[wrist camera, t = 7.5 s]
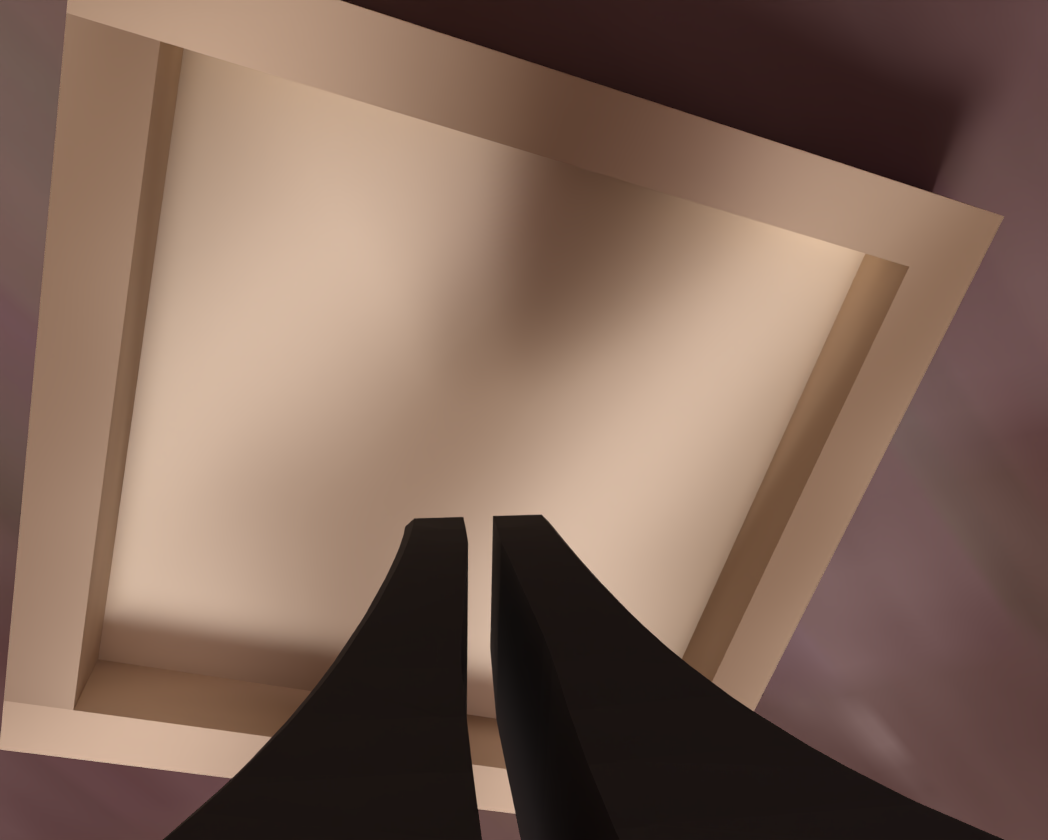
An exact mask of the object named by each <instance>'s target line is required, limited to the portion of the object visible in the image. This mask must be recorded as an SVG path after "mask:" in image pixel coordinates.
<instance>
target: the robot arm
mask: <svg viewBox="0 0 1048 840" xmlns="http://www.w3.org/2000/svg"><path fill="white" fill-rule="evenodd" d="M467 646H468V538H467V532H466V527H465V522H464V518H463V517H443V518H414V519H413V520H412V521H411V522H410V523H409V524H408V525H406V526H405V529H404V535H403V538H402V541H401V544H400V547H399V549H398V552H397V554H396V556H395V559H394V561H393V563H392V565H391V567H390V569H389V571H388V574H387V576H386V578H385V580H384V581H383V583H382V585H381V587H380V589H379V590H378V592H377V594H376V596H375V598H374V600H373V601H372V603H371V605H370V607H369V609H368V610H367V612H366V614H365V615H364V617H363V619H362V620H361V622H360V623H359V625H358V626H357V628H356V629H355V631H354V632H353V634H352V635H351V637H350V638H349V640H348V641H347V643H346V644H345V646H344V647H343V649H342V650H341V652H340V653H339V655H338V656H337V658H336V659H335V661H334V662H333V664H332V665H331V666H330V668H329V669H328V670H327V672H326V673H325V674H324V676H323V677H322V678H321V680H320V681H319V682H318V684H317V685H316V686H315V688H314V689H313V690H312V691H311V693H310V694H309V695H308V696H307V697H306V699H305V700H304V701H303V702H302V703H301V705H300V706H299V707H298V708H297V709H296V711H295V712H294V713H293V714H292V715H291V717H290V718H289V719H288V720H287V721H286V722H285V724H284V725H283V726H282V727H281V728H280V729H279V730H278V731H277V732H276V733H275V734H274V735H273V736H272V737H271V738H270V740H269V741H268V742H267V743H266V744H265V745H264V746H263V747H262V748H261V749H260V750H259V751H258V752H257V753H256V755H255V756H254V757H253V758H252V759H251V760H250V761H249V762H248V763H247V764H246V765H245V766H244V767H243V768H242V769H241V770H240V771H239V772H238V773H237V774H236V775H235V776H234V777H233V778H232V779H231V780H230V781H229V782H228V783H227V784H225V785H224V786H223V787H222V788H221V789H220V790H219V791H218V792H217V793H216V794H214V795H213V796H212V797H211V798H210V799H209V800H208V801H207V802H205V803H204V804H203V805H202V806H201V807H200V808H199V809H197V810H196V811H195V812H194V813H193V814H192V815H191V816H189V817H188V818H187V819H186V820H185V821H184V822H183V823H181V824H180V825H179V826H178V827H177V828H176V829H175V830H173V831H172V832H171V833H170V834H169V835H168V836H167V837H166V838H164V839H163V840H482V837H481V829H480V822H479V814H478V806H477V799H476V791H475V783H474V776H473V768H472V759H471V750H470V742H469V733H468V724H467ZM490 653H491V665H492V676H493V688H494V699H495V710H496V720H497V725H498V731H499V736H500V741H501V745H502V750H503V755H504V760H505V765H506V770H507V775H508V780H509V784H510V789H511V794H512V799H513V804H514V808H515V813H516V818H517V823H518V828H519V832H520V837H521V840H1003V839H1001V838H999V837H996V836H994V835H992V834H989V833H987V832H985V831H982V830H980V829H978V828H975V827H973V826H971V825H968V824H966V823H964V822H961V821H959V820H957V819H955V818H952V817H950V816H948V815H945V814H943V813H941V812H938V811H936V810H934V809H931V808H929V807H927V806H924V805H922V804H920V803H918V802H915V801H913V800H911V799H909V798H907V797H905V796H903V795H901V794H899V793H897V792H895V791H893V790H891V789H889V788H887V787H885V786H883V785H881V784H879V783H877V782H875V781H873V780H871V779H870V778H868V777H866V776H864V775H862V774H860V773H858V772H856V771H854V770H852V769H850V768H848V767H846V766H844V765H842V764H841V763H839V762H837V761H835V760H833V759H832V758H830V757H828V756H826V755H824V754H823V753H821V752H819V751H817V750H815V749H814V748H812V747H810V746H808V745H807V744H805V743H803V742H802V741H800V740H799V739H797V738H795V737H794V736H792V735H791V734H789V733H787V732H786V731H784V730H782V729H781V728H779V727H778V726H776V725H774V724H773V723H771V722H770V721H768V720H766V719H765V718H763V717H761V716H760V715H758V714H757V713H755V712H754V711H752V710H751V709H749V708H748V707H746V706H745V705H743V704H742V703H740V702H739V701H737V700H736V699H734V698H733V697H732V696H730V695H729V694H727V693H726V692H725V691H723V690H722V689H721V688H719V687H718V686H717V685H715V684H714V683H713V682H711V681H710V680H709V679H707V678H706V677H705V676H703V675H702V674H701V673H699V672H698V671H697V670H695V669H694V668H693V667H691V666H690V665H689V664H687V663H686V662H685V661H684V660H682V659H681V658H680V657H679V656H678V655H676V654H675V653H674V652H673V651H671V650H670V649H669V648H668V647H667V646H666V645H665V644H663V643H662V642H661V641H660V640H659V639H658V638H657V637H656V636H655V635H653V634H652V633H651V632H650V631H649V630H648V629H647V628H646V627H645V626H643V625H642V624H641V623H640V622H639V621H638V620H637V619H636V618H635V617H634V616H633V615H632V614H631V613H630V612H629V611H628V610H627V609H626V608H625V607H624V606H623V605H622V604H621V603H620V602H619V601H618V600H617V599H616V598H615V597H614V595H613V594H612V593H611V592H610V591H609V590H608V589H607V588H606V587H605V586H604V585H603V584H602V583H601V582H600V581H599V580H598V579H597V578H596V576H595V575H594V574H593V573H592V572H591V571H590V570H589V569H588V568H587V566H586V565H585V564H584V563H583V562H582V561H581V560H580V558H579V557H578V556H577V555H576V554H575V553H574V551H573V550H572V549H571V548H570V547H569V546H568V544H567V543H566V542H565V541H564V540H563V538H562V537H561V536H560V535H559V533H558V532H557V531H556V530H555V529H554V527H553V526H552V525H551V524H550V522H549V521H548V520H547V519H546V518H545V517H544V516H543V515H542V514H540V515H507V516H493V536H492V584H491V632H490Z"/></svg>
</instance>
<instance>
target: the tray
mask: <svg viewBox="0 0 1048 840" xmlns="http://www.w3.org/2000/svg"><path fill="white" fill-rule="evenodd" d="M1003 218H1004V216H1001V215H998V214H995V213H992V212H989V211H986V210H983V209H980V208H977V207H974V206H971V205H968V204H965V203H962V202H959V201H956V200H953V199H950V198H947V197H944V196H941V195H938V194H935V193H932V192H929V191H926V190H923V189H920V188H917V187H913V186H910V185H907V184H904V183H901V182H898V181H895V180H892V179H889V178H886V177H883V176H880V175H877V174H874V173H870V172H867V171H864V170H861V169H858V168H855V167H852V166H849V165H846V164H843V163H840V162H837V161H834V160H831V159H827V158H824V157H821V156H818V155H815V154H812V153H809V152H806V151H803V150H800V149H797V148H794V147H791V146H787V145H784V144H781V143H778V142H775V141H772V140H769V139H766V138H763V137H760V136H757V135H754V134H751V133H748V132H744V131H741V130H738V129H735V128H732V127H729V126H726V125H723V124H720V123H717V122H714V121H711V120H708V119H705V118H701V117H698V116H695V115H692V114H689V113H686V112H683V111H680V110H677V109H674V108H671V107H668V106H665V105H662V104H658V103H655V102H652V101H649V100H646V99H643V98H640V97H637V96H634V95H631V94H628V93H625V92H622V91H619V90H615V89H612V88H609V87H606V86H603V85H600V84H597V83H594V82H591V81H588V80H585V79H582V78H579V77H576V76H572V75H569V74H566V73H563V72H560V71H557V70H554V69H551V68H548V67H545V66H542V65H539V64H536V63H532V62H529V61H526V60H523V59H520V58H517V57H514V56H511V55H508V54H505V53H502V52H499V51H496V50H493V49H489V48H486V47H483V46H480V45H477V44H474V43H471V42H468V41H465V40H462V39H459V38H456V37H453V36H450V35H446V34H443V33H440V32H437V31H434V30H431V29H428V28H425V27H422V26H419V25H416V24H413V23H410V22H407V21H403V20H400V19H397V18H394V17H391V16H388V15H385V14H382V13H379V12H376V11H373V10H370V9H367V8H364V7H360V6H357V5H354V4H351V3H348V2H345V1H342V0H68V3H67V14H66V25H65V36H64V47H63V58H62V69H61V80H60V91H59V102H58V113H57V124H56V135H55V145H54V156H53V167H52V178H51V189H50V200H49V211H48V222H47V233H46V244H45V255H44V266H43V277H42V288H41V299H40V310H39V321H38V332H37V343H36V354H35V365H34V376H33V387H32V398H31V409H30V420H29V431H28V442H27V453H26V464H25V475H24V486H23V497H22V508H21V519H20V530H19V541H18V551H17V562H16V573H15V584H14V595H13V606H12V617H11V628H10V639H9V650H8V661H7V672H6V683H5V694H4V705H3V716H2V727H1V738H0V749H1V750H9V751H17V752H25V753H33V754H41V755H49V756H57V757H65V758H73V759H81V760H89V761H97V762H105V763H113V764H121V765H129V766H137V767H145V768H153V769H161V770H169V771H177V772H185V773H193V774H202V775H210V776H218V777H226V778H233V777H234V776H235V775H236V774H237V773H238V772H239V771H240V770H241V769H242V768H243V767H244V766H245V765H246V764H247V763H248V762H249V761H250V760H251V759H252V758H253V757H254V756H255V755H256V753H257V752H258V751H259V750H260V749H261V748H262V747H263V746H264V745H265V744H266V743H267V742H268V741H269V740H270V738H271V737H272V736H273V735H274V734H275V733H276V732H277V731H278V730H279V729H280V728H281V727H282V726H283V725H284V724H285V722H286V721H287V720H288V719H289V718H290V717H291V715H292V714H293V713H294V712H295V711H296V709H297V708H298V707H299V706H300V705H301V703H302V702H303V701H304V700H305V699H306V697H307V696H308V695H309V694H310V693H311V691H312V690H313V689H314V688H315V686H316V685H317V684H318V682H319V681H320V680H321V678H322V677H323V676H324V674H325V673H326V672H327V670H328V669H329V668H330V666H331V665H332V664H333V662H334V661H335V659H336V658H337V656H338V655H339V653H340V652H341V650H342V649H343V647H344V646H345V644H346V643H347V641H348V640H349V638H350V637H351V635H352V634H353V632H354V631H355V629H356V628H357V626H358V625H359V623H360V622H361V620H362V619H363V617H364V615H365V614H366V612H367V610H368V609H369V607H370V605H371V603H372V601H373V600H374V598H375V596H376V594H377V592H378V590H379V589H380V587H381V585H382V583H383V581H384V580H385V578H386V576H387V574H388V571H389V569H390V567H391V565H392V563H393V561H394V559H395V556H396V554H397V552H398V549H399V547H400V544H401V541H402V538H403V535H404V529H405V526H406V525H408V524H409V523H410V522H411V521H412V520H413V519H414V518H443V517H463V518H464V522H465V527H466V532H467V538H468V646H467V724H468V733H469V742H470V750H471V759H472V768H473V776H474V783H475V791H476V799H477V806H478V809H482V810H490V811H499V812H507V813H515V808H514V804H513V799H512V794H511V789H510V784H509V780H508V775H507V770H506V765H505V760H504V755H503V750H502V745H501V741H500V736H499V731H498V725H497V720H496V710H495V699H494V688H493V676H492V665H491V653H490V632H491V584H492V536H493V516H507V515H540V514H542V515H543V516H544V517H545V518H546V519H547V520H548V521H549V522H550V524H551V525H552V526H553V527H554V529H555V530H556V531H557V532H558V533H559V535H560V536H561V537H562V538H563V540H564V541H565V542H566V543H567V544H568V546H569V547H570V548H571V549H572V550H573V551H574V553H575V554H576V555H577V556H578V557H579V558H580V560H581V561H582V562H583V563H584V564H585V565H586V566H587V568H588V569H589V570H590V571H591V572H592V573H593V574H594V575H595V576H596V578H597V579H598V580H599V581H600V582H601V583H602V584H603V585H604V586H605V587H606V588H607V589H608V590H609V591H610V592H611V593H612V594H613V595H614V597H615V598H616V599H617V600H618V601H619V602H620V603H621V604H622V605H623V606H624V607H625V608H626V609H627V610H628V611H629V612H630V613H631V614H632V615H633V616H634V617H635V618H636V619H637V620H638V621H639V622H640V623H641V624H642V625H643V626H645V627H646V628H647V629H648V630H649V631H650V632H651V633H652V634H653V635H655V636H656V637H657V638H658V639H659V640H660V641H661V642H662V643H663V644H665V645H666V646H667V647H668V648H669V649H670V650H671V651H673V652H674V653H675V654H676V655H678V656H679V657H680V658H681V659H682V660H684V661H685V662H686V663H687V664H689V665H690V666H691V667H693V668H694V669H695V670H697V671H698V672H699V673H701V674H702V675H703V676H705V677H706V678H707V679H709V680H710V681H711V682H713V683H714V684H715V685H717V686H718V687H719V688H721V689H722V690H723V691H725V692H726V693H727V694H729V695H730V696H732V697H733V698H734V699H736V700H737V701H739V702H740V703H742V704H743V705H745V706H746V707H748V708H749V709H751V710H752V711H754V710H755V708H756V706H757V704H758V702H759V700H760V698H761V696H762V694H763V692H764V690H765V688H766V686H767V684H768V682H769V680H770V678H771V676H772V674H773V672H774V670H775V668H776V666H777V664H778V662H779V660H780V658H781V657H782V655H783V653H784V651H785V649H786V647H787V645H788V643H789V641H790V639H791V637H792V635H793V633H794V631H795V629H796V627H797V625H798V623H799V621H800V619H801V617H802V615H803V613H804V611H805V609H806V607H807V605H808V603H809V601H810V599H811V597H812V595H813V593H814V591H815V589H816V587H817V585H818V583H819V581H820V579H821V577H822V575H823V573H824V572H825V570H826V568H827V566H828V564H829V562H830V560H831V558H832V556H833V554H834V552H835V550H836V548H837V546H838V544H839V542H840V540H841V538H842V536H843V534H844V532H845V530H846V528H847V526H848V524H849V522H850V520H851V518H852V516H853V514H854V512H855V510H856V508H857V506H858V504H859V502H860V500H861V498H862V496H863V494H864V492H865V490H866V488H867V487H868V485H869V483H870V481H871V479H872V477H873V475H874V473H875V471H876V469H877V467H878V465H879V463H880V461H881V459H882V457H883V455H884V453H885V451H886V449H887V447H888V445H889V443H890V441H891V439H892V437H893V435H894V433H895V431H896V429H897V427H898V425H899V423H900V421H901V419H902V417H903V415H904V413H905V411H906V409H907V407H908V405H909V403H910V402H911V400H912V398H913V396H914V394H915V392H916V390H917V388H918V386H919V384H920V382H921V380H922V378H923V376H924V374H925V372H926V370H927V368H928V366H929V364H930V362H931V360H932V358H933V356H934V354H935V352H936V350H937V348H938V346H939V344H940V342H941V340H942V338H943V336H944V334H945V332H946V330H947V328H948V326H949V324H950V322H951V320H952V318H953V317H954V315H955V313H956V311H957V309H958V307H959V305H960V303H961V301H962V299H963V297H964V295H965V293H966V291H967V289H968V287H969V285H970V283H971V281H972V279H973V277H974V275H975V273H976V271H977V269H978V267H979V265H980V263H981V261H982V259H983V257H984V255H985V253H986V251H987V249H988V247H989V245H990V243H991V241H992V239H993V237H994V235H995V233H996V232H997V230H998V228H999V226H1000V224H1001V222H1002V220H1003ZM515 814H516V813H515Z"/></svg>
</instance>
